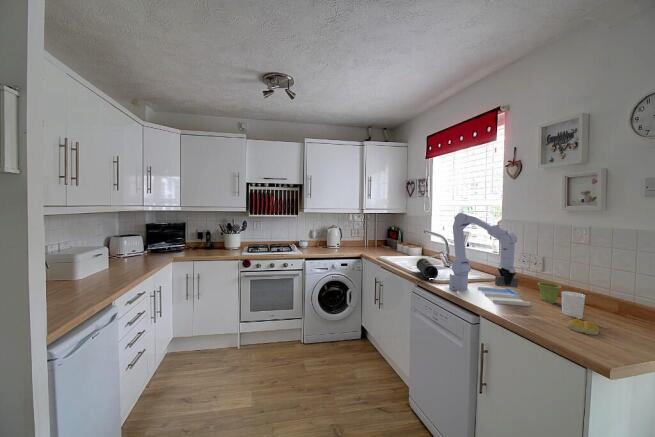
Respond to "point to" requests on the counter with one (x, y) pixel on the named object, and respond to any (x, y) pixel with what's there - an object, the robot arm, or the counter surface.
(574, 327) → the bread roll
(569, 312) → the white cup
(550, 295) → the plant pot
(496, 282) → the dark gray rectangular block
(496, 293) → the tray
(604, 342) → the counter surface
